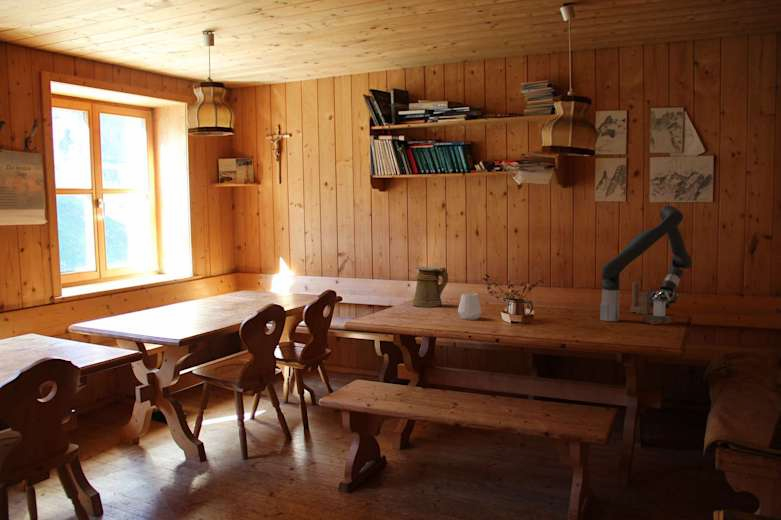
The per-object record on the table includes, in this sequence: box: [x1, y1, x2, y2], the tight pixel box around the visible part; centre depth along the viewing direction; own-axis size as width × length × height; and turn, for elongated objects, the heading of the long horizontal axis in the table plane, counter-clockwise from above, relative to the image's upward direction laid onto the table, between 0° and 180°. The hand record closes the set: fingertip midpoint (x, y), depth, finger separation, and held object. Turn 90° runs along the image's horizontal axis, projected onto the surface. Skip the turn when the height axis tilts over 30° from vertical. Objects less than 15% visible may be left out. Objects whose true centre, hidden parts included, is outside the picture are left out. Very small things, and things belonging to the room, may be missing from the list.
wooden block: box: [630, 281, 652, 315], centre depth 400 cm, size 4×11×18 cm, turn 40°
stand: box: [642, 315, 676, 325], centre depth 367 cm, size 14×9×3 cm, turn 109°
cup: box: [457, 292, 482, 321], centre depth 385 cm, size 13×13×14 cm
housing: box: [652, 297, 668, 318], centre depth 367 cm, size 5×5×10 cm
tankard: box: [412, 266, 449, 308], centre depth 435 cm, size 18×24×25 cm
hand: (658, 306), depth 366 cm, fingers open, 8 cm apart
